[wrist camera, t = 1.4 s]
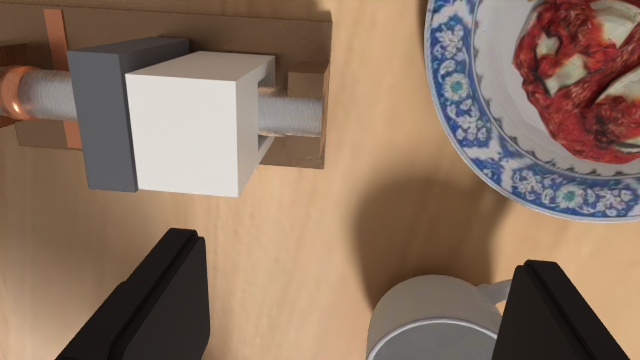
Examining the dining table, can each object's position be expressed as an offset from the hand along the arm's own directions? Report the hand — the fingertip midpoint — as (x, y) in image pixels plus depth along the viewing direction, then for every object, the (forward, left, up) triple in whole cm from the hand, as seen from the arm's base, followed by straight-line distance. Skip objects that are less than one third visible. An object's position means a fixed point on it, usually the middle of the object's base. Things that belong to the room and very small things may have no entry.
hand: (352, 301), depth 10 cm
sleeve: (0, +8, -21) cm, 22 cm away
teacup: (-16, -8, -22) cm, 29 cm away
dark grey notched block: (0, +13, -21) cm, 24 cm away
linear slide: (0, +14, -22) cm, 26 cm away
